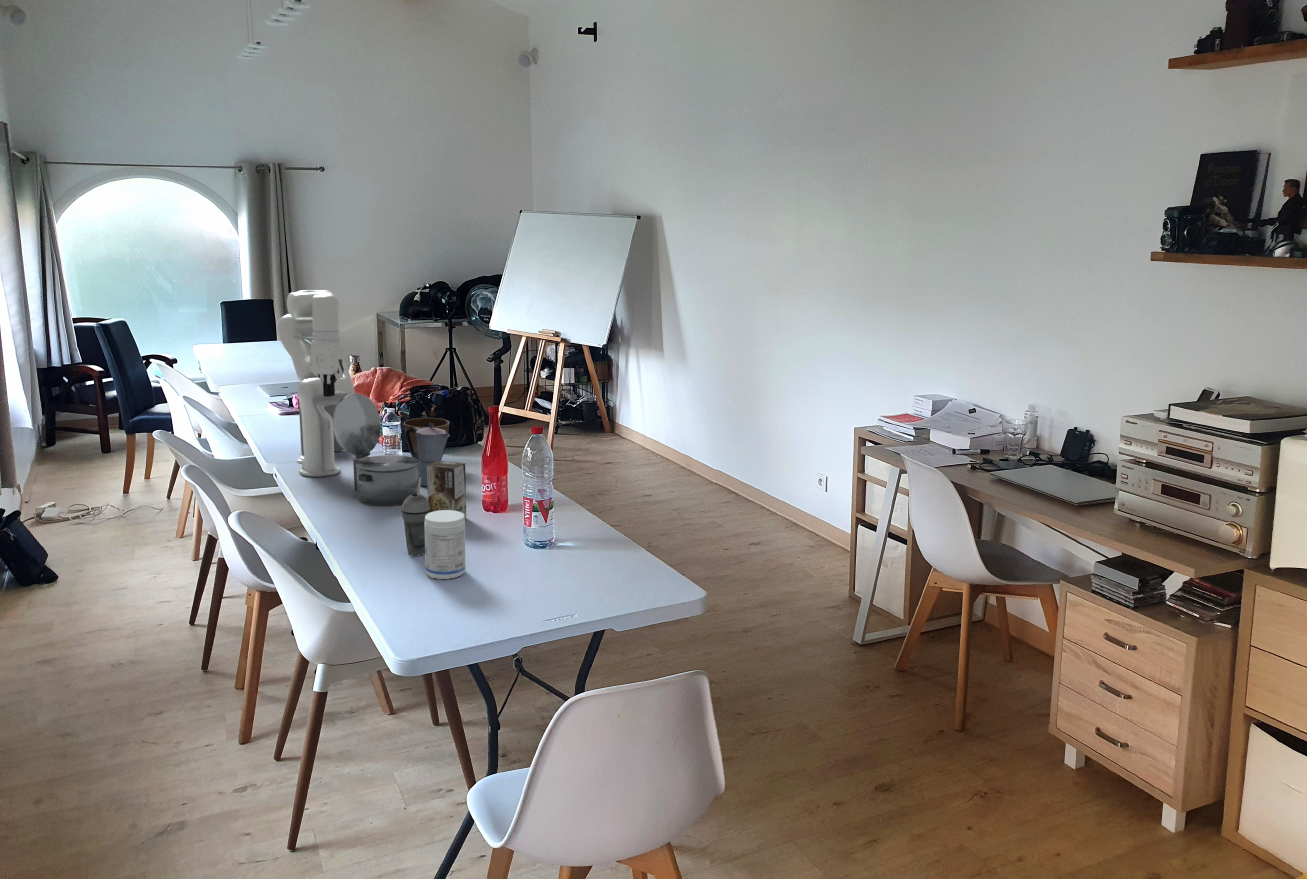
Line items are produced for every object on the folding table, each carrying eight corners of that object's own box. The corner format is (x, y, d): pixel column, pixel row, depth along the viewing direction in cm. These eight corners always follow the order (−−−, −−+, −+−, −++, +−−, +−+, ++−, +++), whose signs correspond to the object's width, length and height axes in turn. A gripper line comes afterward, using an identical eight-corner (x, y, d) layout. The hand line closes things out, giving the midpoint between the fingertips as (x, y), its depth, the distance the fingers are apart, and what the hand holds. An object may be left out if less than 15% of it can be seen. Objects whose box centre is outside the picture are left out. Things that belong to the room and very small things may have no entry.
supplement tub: (426, 567, 234) (425, 509, 231) (466, 565, 236) (465, 508, 233) (424, 581, 225) (423, 522, 222) (465, 580, 227) (464, 521, 224)
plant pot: (459, 467, 328) (458, 421, 325) (428, 476, 316) (427, 428, 312) (427, 460, 336) (426, 416, 332) (395, 469, 323) (394, 422, 320)
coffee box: (467, 517, 274) (466, 463, 270) (455, 524, 268) (454, 468, 264) (439, 513, 277) (438, 459, 273) (427, 519, 271) (426, 464, 267)
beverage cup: (405, 548, 247) (402, 473, 243) (433, 548, 248) (432, 473, 243) (400, 558, 240) (397, 481, 236) (429, 558, 241) (427, 481, 236)
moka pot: (444, 489, 302) (443, 427, 297) (399, 485, 304) (397, 423, 300) (456, 481, 311) (455, 421, 306) (412, 477, 314) (410, 417, 309)
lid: (342, 463, 284) (334, 464, 285) (385, 451, 300) (377, 451, 302) (331, 398, 281) (323, 399, 282) (375, 389, 297) (367, 390, 299)
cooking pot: (334, 500, 286) (333, 465, 283) (384, 484, 305) (383, 450, 303) (388, 511, 277) (386, 474, 275) (435, 493, 297) (435, 458, 294)
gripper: (298, 335, 289) (301, 395, 293) (336, 339, 283) (339, 400, 287) (316, 333, 295) (319, 391, 299) (354, 336, 289) (356, 396, 293)
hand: (329, 395), depth 293 cm, fingers closed
